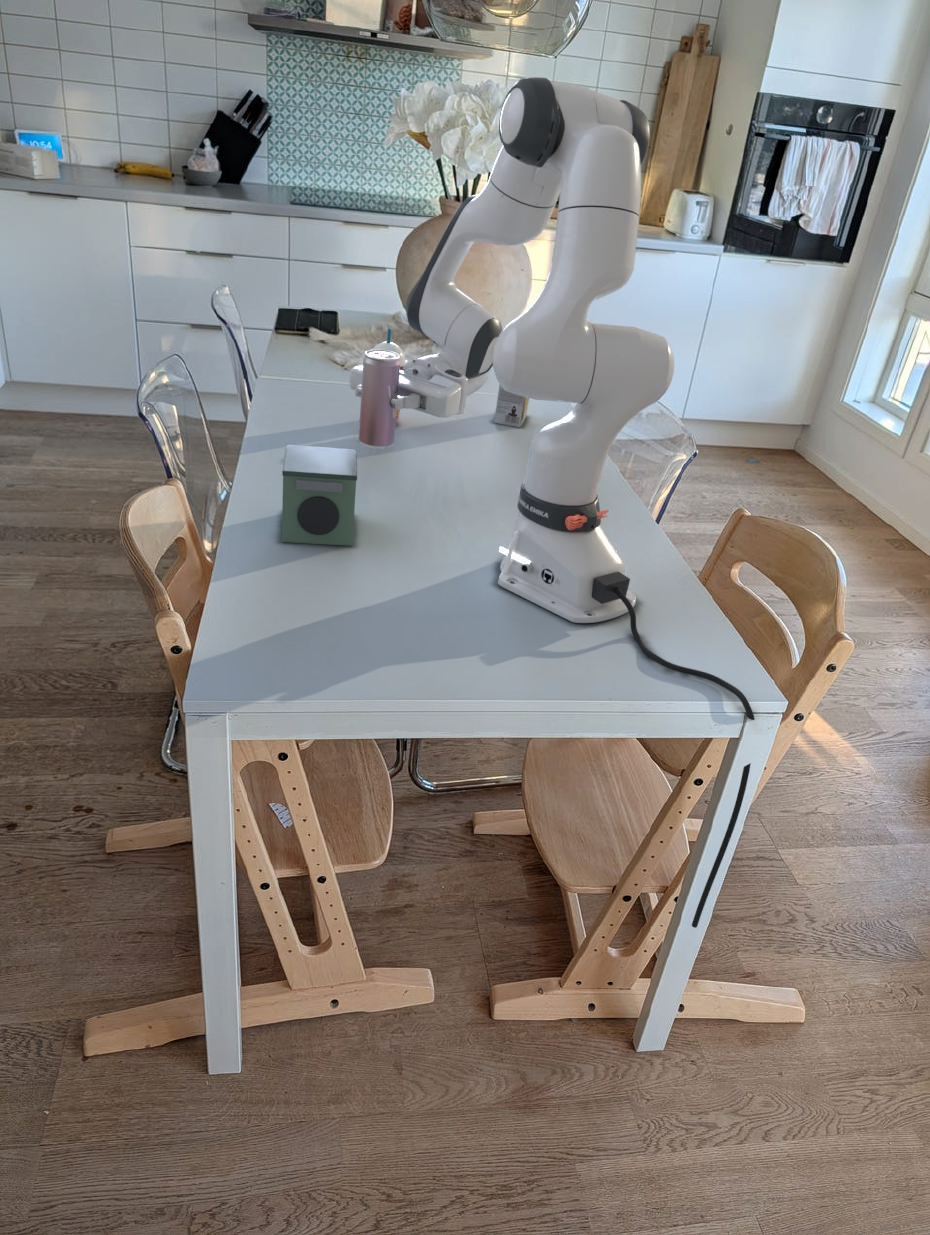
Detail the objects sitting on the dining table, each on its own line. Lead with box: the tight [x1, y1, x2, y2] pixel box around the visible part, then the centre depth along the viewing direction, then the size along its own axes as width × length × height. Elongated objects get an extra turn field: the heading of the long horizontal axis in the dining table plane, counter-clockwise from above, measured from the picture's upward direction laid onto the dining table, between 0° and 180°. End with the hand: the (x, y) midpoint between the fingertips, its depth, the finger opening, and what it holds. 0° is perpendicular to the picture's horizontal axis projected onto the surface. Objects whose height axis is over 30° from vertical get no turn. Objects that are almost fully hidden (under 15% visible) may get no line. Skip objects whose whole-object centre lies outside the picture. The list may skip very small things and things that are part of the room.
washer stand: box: [281, 444, 358, 547], centre depth 146 cm, size 12×11×12 cm
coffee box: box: [493, 383, 530, 428], centre depth 205 cm, size 9×6×16 cm
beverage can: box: [358, 349, 400, 450], centre depth 150 cm, size 6×6×15 cm
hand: (376, 398), depth 149 cm, fingers closed on beverage can, 6 cm apart
